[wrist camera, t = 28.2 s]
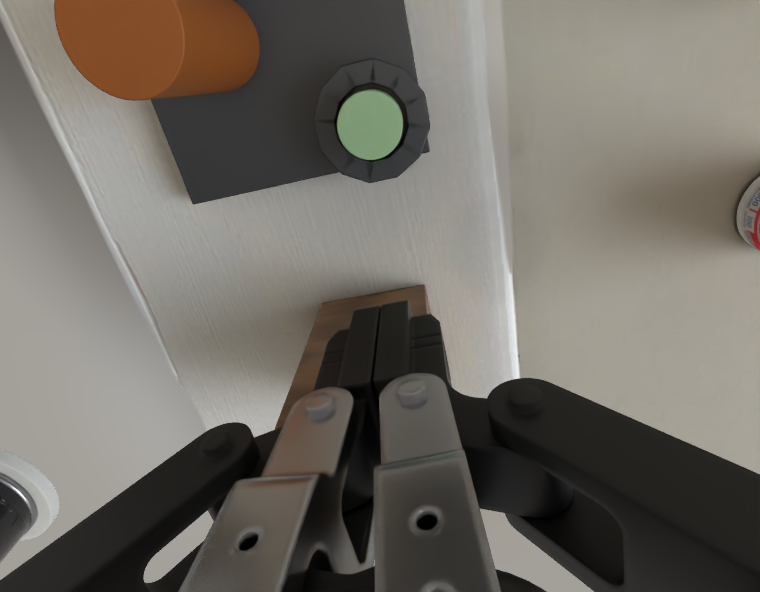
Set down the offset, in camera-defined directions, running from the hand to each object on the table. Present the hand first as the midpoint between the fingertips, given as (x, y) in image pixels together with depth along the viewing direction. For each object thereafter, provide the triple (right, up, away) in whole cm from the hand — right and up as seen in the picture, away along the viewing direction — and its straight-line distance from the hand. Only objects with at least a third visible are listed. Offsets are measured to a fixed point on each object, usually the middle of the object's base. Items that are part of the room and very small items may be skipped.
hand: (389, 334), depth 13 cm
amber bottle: (-10, +16, +14) cm, 23 cm away
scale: (-6, +15, +16) cm, 23 cm away
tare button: (-1, +11, +14) cm, 18 cm away
